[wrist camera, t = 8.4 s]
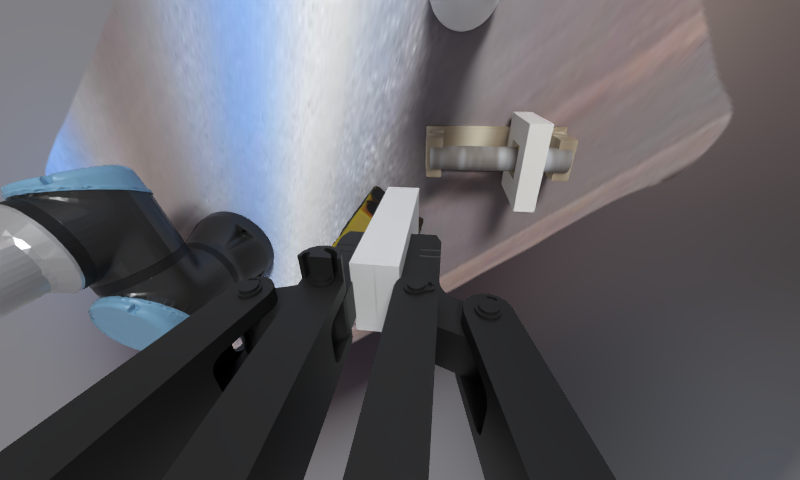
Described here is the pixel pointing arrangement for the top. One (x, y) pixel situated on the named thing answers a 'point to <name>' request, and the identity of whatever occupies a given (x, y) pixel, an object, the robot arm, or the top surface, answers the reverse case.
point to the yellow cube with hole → (366, 214)
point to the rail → (489, 140)
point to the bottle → (463, 13)
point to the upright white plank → (527, 159)
